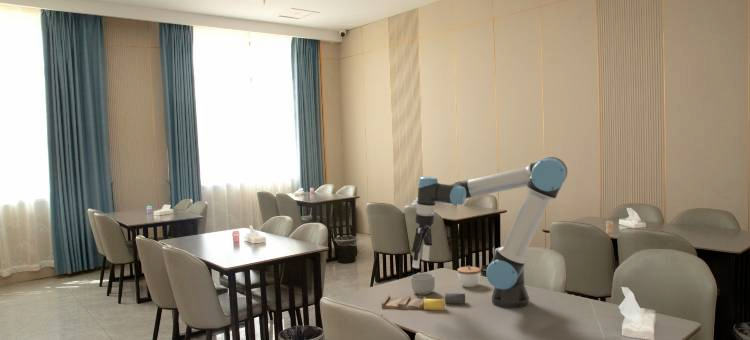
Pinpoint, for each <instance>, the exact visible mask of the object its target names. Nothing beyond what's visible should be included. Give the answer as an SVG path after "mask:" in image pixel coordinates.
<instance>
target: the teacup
mask: <svg viewBox="0 0 750 340" xmlns="http://www.w3.org/2000/svg"><path fill="white" fill-rule="evenodd" d="M410 282H411V289H412V291H413V292H415V293H416V294H417V295H420V296H422V295H423V296H424V295H430V294H431V293H432V292H433V291H434V290H435V287H436V285H435V284H436V283H435V282H436V280H435V274H433V273H432V272H431V273H429V272H417V273H414V274H412V275H411V276H410Z"/></svg>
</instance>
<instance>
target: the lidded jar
mask: <svg viewBox="0 0 750 340" xmlns="http://www.w3.org/2000/svg"><path fill="white" fill-rule="evenodd" d="M481 274H482V273H481V268H480V267H477V266H471V265H467V266H461V267H459V268H457V278H458V280H459V282H460V284H462V286H463V287H464V288H465V287H466V288H474V287H476V286H477V285H478V284H479V282H480V280H481Z"/></svg>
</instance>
